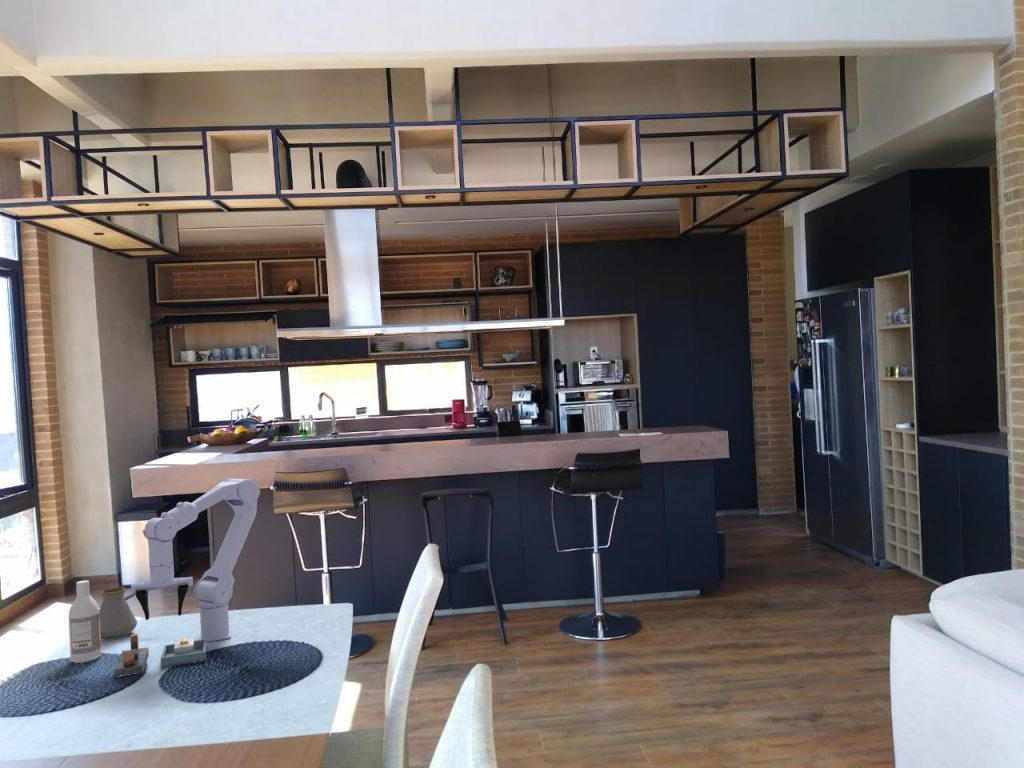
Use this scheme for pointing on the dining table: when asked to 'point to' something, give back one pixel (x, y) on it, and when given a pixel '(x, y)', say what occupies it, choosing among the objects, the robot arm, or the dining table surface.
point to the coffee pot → (116, 614)
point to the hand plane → (132, 659)
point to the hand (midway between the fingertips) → (163, 616)
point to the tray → (171, 660)
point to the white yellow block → (184, 646)
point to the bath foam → (84, 625)
